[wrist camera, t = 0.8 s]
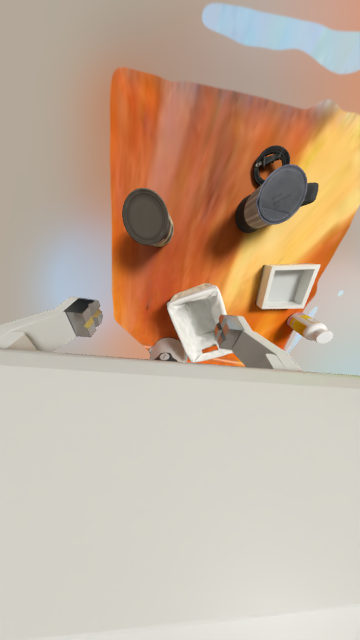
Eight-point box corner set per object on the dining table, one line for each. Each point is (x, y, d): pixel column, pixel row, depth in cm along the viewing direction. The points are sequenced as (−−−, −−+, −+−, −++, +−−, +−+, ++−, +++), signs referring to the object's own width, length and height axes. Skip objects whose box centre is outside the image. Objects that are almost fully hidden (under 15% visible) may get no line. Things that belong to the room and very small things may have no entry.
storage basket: (169, 291, 52) (163, 305, 38) (211, 276, 48) (220, 285, 35) (189, 340, 61) (190, 365, 48) (225, 330, 58) (237, 353, 45)
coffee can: (174, 246, 45) (170, 243, 32) (144, 247, 45) (127, 246, 33) (172, 206, 40) (166, 185, 27) (138, 209, 41) (116, 189, 28)
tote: (293, 303, 51) (303, 308, 47) (255, 304, 52) (261, 309, 48) (307, 263, 45) (320, 264, 41) (263, 265, 46) (272, 266, 41)
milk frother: (239, 239, 43) (262, 233, 30) (223, 179, 37) (243, 138, 24) (287, 213, 40) (338, 194, 26) (278, 143, 34) (338, 71, 20)
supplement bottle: (289, 329, 56) (316, 349, 45) (283, 318, 54) (309, 336, 43) (307, 321, 54) (339, 339, 43) (301, 308, 52) (333, 324, 41)
